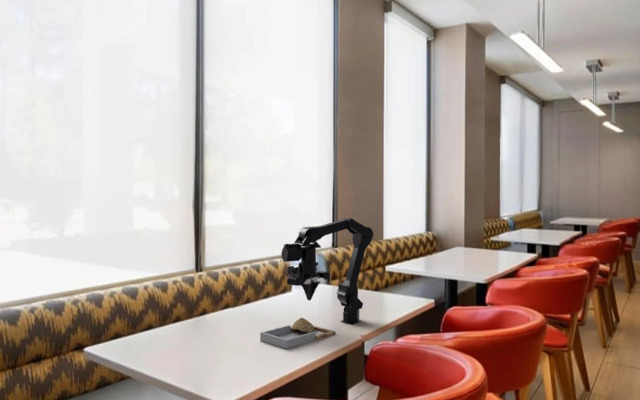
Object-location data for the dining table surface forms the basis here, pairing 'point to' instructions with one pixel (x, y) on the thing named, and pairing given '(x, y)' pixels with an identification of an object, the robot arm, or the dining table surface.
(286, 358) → the dining table surface
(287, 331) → the tray
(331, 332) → the cradle
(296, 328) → the seashell
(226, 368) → the dining table surface
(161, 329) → the dining table surface
